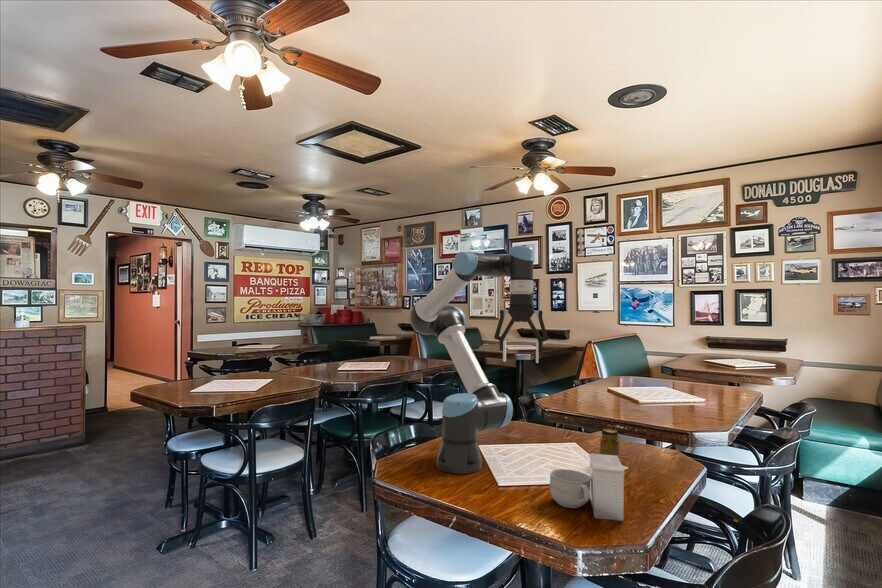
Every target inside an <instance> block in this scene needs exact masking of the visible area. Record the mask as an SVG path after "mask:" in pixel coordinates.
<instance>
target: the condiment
mask: <svg viewBox="0 0 882 588" xmlns="http://www.w3.org/2000/svg"><path fill="white" fill-rule="evenodd" d="M599 441H600V444H599V446H600V447H599V449H600V451H599V454H603V455H615V456H618V458H619V459H620V439H619V431H618V430H616V429H612V428H611V429H610V428H603V429H602V430H601V437H600V440H599ZM622 467H623V469H624V471H625V470H628V469H629V466H625V465H622Z"/></svg>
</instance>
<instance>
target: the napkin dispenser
mask: <svg viewBox="0 0 882 588" xmlns="http://www.w3.org/2000/svg"><path fill="white" fill-rule="evenodd" d="M589 459H590V461H589V462H590V463H589V476H590V478H591V481H590V498H589V501H590V505H591V509H592V513H593V517H594V519H599V520H600V519H601V520H609V521H610V520H611V521H619V522H624V507H625V505H624V503H625V502H624V499H625V498H624V495H625V494H624V492H625V491H624V489H625V486H624V485H625V484H624V482H625V479H624V477H625V473H626V472H625V470H624V469H623V467H622V466H623V464H622V462H621V460H620V457H619V458H618V456H615V455H603V454H600V453H590V452H589Z"/></svg>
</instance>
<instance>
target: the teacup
mask: <svg viewBox="0 0 882 588" xmlns="http://www.w3.org/2000/svg"><path fill="white" fill-rule="evenodd" d="M549 476H550V478H549V492H550V493H549V494H550V496H551V498H552V499H553V500H554V501H555V502H556V504H558V505H559V506H561V507H564V508H569V509H578V508H581V507H582V506H584V505H585V504H586V503H588V501H590V481H591V478H590V475H589V474H587V473H584V472H583V471H579V470H576V469H575V470H574V469H569V468H558V469H557V468H556V469H553V470H551V471H550V472H549Z"/></svg>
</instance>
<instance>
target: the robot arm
mask: <svg viewBox="0 0 882 588" xmlns="http://www.w3.org/2000/svg"><path fill="white" fill-rule="evenodd" d="M452 262H453V263H452V268H451V270H449V271H448V273H447V274H446V275H445V276H444V277H443V278H442V279H441V280H440V281H439V282H438V283H437V284H436V285H435V286H434V287H433V289H431V290H430V292H429V293H428V294H427V295H426V296H425V297H424V298H423V299H419V300H418V301H417V302H416V303H415V304H414V305H413V306H412V308H411V309H410V313H409V323H410V325H411V327H412V328H413V330H414V331H415V332H417V333H418V334H420V335H423V336H436V338H437V341H438V343H439V344H442V345H444V346H445V348H446V350H447V353H448V354H449V355H448V356H450V359H451V360H452V363H453V365H454V367H455V369H456V370H457V373H458V375H459V377H460V379H461V382H462V383H463V385H464V387H465V389H466V392H462V393H459V392H458V393H454V394H451V395H449V396H447V397H446V398H444V400H443V402H442V409H441V413H442V416H441V417H442V421H441V423H442V425H441V427H442V431H441V438H442V439H441V440H442V441H441V446H440V448H439V451H438V453H437V454H438V455H437V457H436V468H437V469H439V470H440V471H442V472H444V473H448V474H449V473H450V474H455V475H467V474H472V473H476V472H478V471H480V470H481V469H482V468H483V466H482V465H483V460H482V456H481V453H480V449H479V446H478V442H477V441H478V440H477V439H478V432H483V431H485V432H486V431H489V430H499V429H500V428H503V427H506V426H507V425H509V423H510V422H511V421H512V417H513V412H514V406H513V402H512V399H511V397H510V396H509V395H508V394H507V393H504V392H499V390H498V387H497V385H495V384H493V383H490V381H489V380H488V378H487V376H486V374H485V371H484V370H483V369H482V367H481V365H480V362H479V360H478V359H477V357H476V355H475V353H474V351H473V349H472V347H471V346H470V343H469V342H468V339H467V337H466V336H465V332H466V326H467V322H466V320H467V319H466V315H465V313H464V312H463V310H462V309H461V308H459V306H455V305H454V306H453V305H451V304H450V305H448V304H449V303H450V302H451V301H452V300H453V299H454V298H455V297H456V296H457V295H458V294H459V293H460V292H461V291H463V289H465V287H466V286H467V285H469V283H470V282H471V281H473V280H474V279H475V278H476V277H477V276H483V277H485V276H486V277H490V278H502V277H509V293H510V294H509V308H508V309H500V310H499V319H498V323H497V326H496V329H495V333H494V335H493V336H494V338H493V339H494V340H496V341H497V340H498V341H499V351H501V352H502V362H506V361H507V341H506V340H505V339H506V337H507V336H508V333H509V332H510V330H511V329H512V327H513V325H514V324H515V322H516V323H519V322H521V323H527V324H528V325H529V328H530V329H531V330H532V332H533V334H534V336H535V339H537V341H536V342H535V363H536V364H539V355H540V354H539V353H543V342H545V341H548V340H549V337H548V334H547V330H546V326H545V323H544V319H543V310H537V309H536V310H535V309H534V295H533V292H534V262H535V259H534V249H533V247H531V246H528V245H516V246H511V247H510V251H509V253H507V254H496V253H484V252H483V253H482V252H475V251H459V252H457V253H456V254H455V256H454V259H453V261H452ZM508 314H509V316H510V319H509V320H510V321H509V322H508V324H507V326H506V328H505V329H504V331H502V327H503V323H504V321H505V317H506V316H507V315H508ZM534 314H535V317H537V318H538V322H539V326H540V329H541V332H542V336H543V337H541V335H540V333H539V332H538V331H539V330H538V329H537V327H536V326H535V324H534V322H533V321H532V319H531V318H532V316H533V315H534ZM501 331H502V332H503V333H502V334H501ZM500 334H501V336H500Z"/></svg>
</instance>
